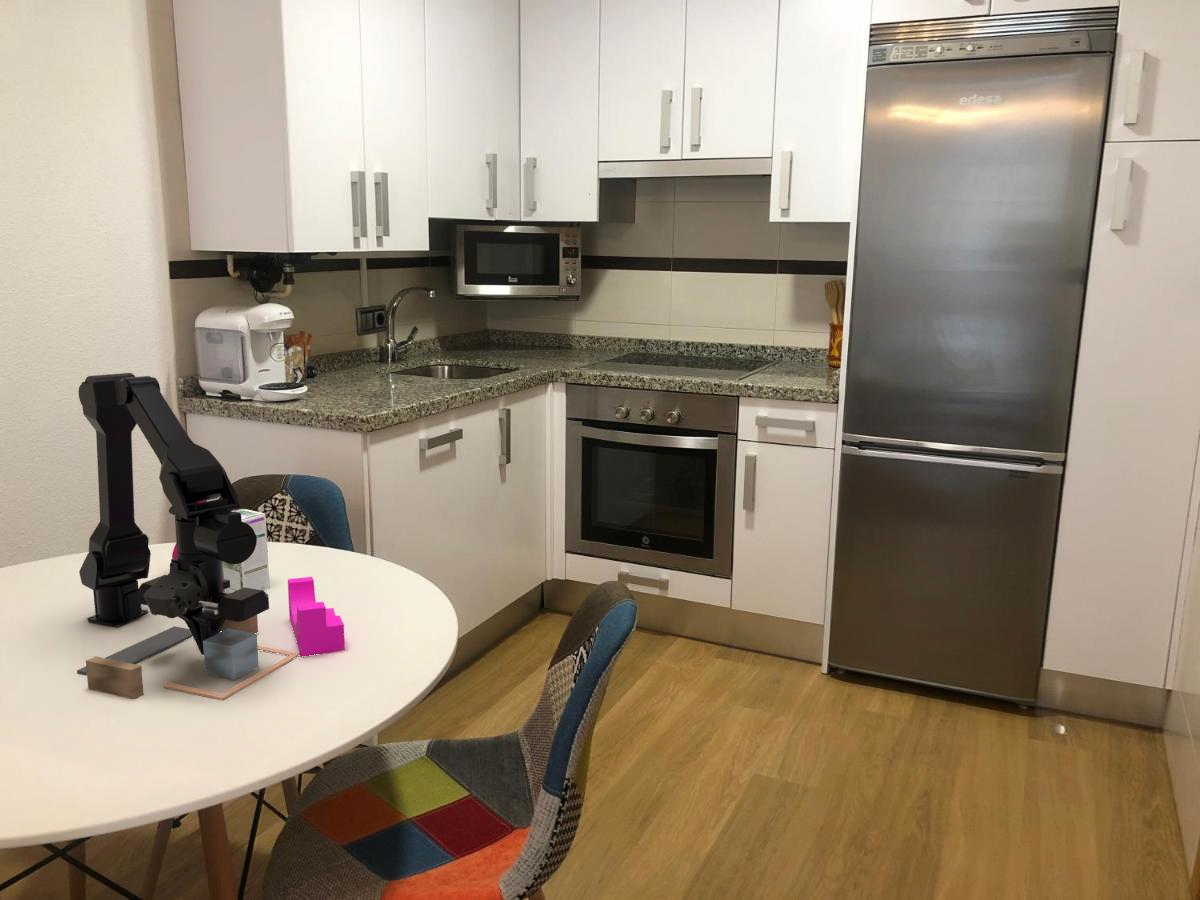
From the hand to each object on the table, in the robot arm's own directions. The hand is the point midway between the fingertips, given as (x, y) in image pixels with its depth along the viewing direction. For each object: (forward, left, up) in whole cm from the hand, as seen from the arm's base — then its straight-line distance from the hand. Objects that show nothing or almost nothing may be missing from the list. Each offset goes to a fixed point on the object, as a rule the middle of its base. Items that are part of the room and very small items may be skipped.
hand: (206, 654), depth 139 cm
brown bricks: (-5, 0, -2) cm, 5 cm away
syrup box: (-15, +26, -2) cm, 30 cm away
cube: (+4, 0, -2) cm, 5 cm away
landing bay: (+4, 0, -2) cm, 5 cm away
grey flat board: (-12, 0, -2) cm, 12 cm away
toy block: (+7, +15, -2) cm, 17 cm away
